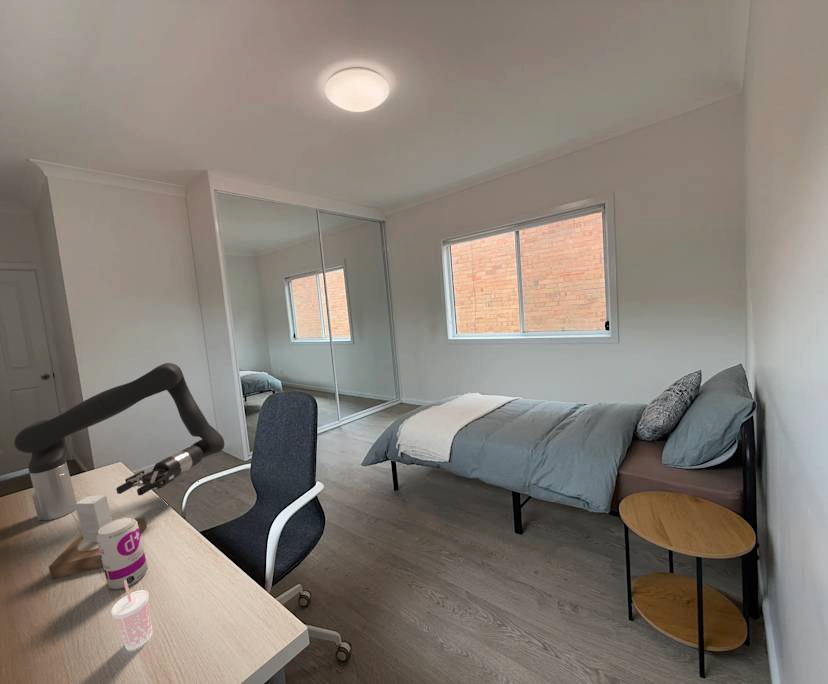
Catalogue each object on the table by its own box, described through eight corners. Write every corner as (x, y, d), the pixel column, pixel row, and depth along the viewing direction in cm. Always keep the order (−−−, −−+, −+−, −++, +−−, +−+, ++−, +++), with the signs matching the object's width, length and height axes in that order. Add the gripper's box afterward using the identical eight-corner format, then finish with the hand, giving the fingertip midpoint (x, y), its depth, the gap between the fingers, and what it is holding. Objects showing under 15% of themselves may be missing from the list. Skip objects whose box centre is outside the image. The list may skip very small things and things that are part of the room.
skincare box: (116, 532, 109) (107, 494, 107) (102, 542, 104) (92, 503, 103) (98, 532, 109) (88, 495, 108) (83, 542, 105) (73, 504, 103)
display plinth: (51, 579, 98) (48, 565, 97) (87, 540, 113) (84, 528, 112) (121, 562, 102) (118, 548, 101) (146, 527, 117) (144, 515, 116)
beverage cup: (163, 625, 80) (150, 567, 78) (144, 652, 74) (129, 590, 72) (134, 628, 80) (120, 570, 78) (113, 656, 74) (97, 594, 72)
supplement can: (155, 568, 98) (144, 516, 95) (122, 594, 90) (109, 538, 88) (134, 564, 100) (122, 513, 98) (100, 588, 93) (86, 533, 90)
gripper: (155, 455, 131) (108, 479, 116) (187, 456, 128) (142, 481, 112) (160, 475, 133) (113, 501, 117) (191, 477, 129) (148, 504, 113)
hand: (127, 492), depth 115 cm, fingers open, 8 cm apart
